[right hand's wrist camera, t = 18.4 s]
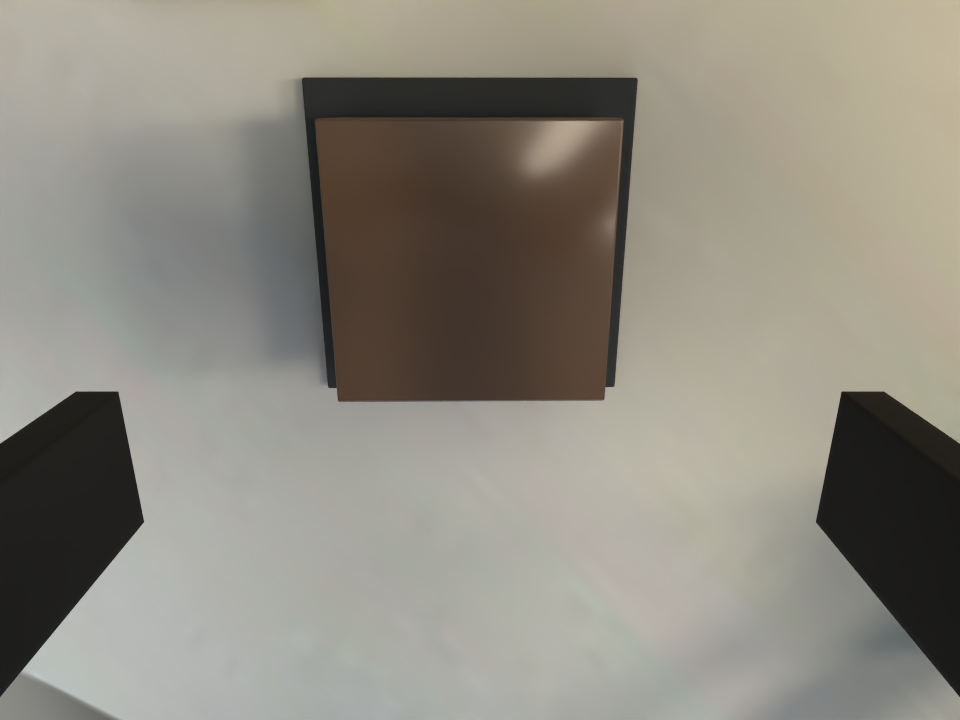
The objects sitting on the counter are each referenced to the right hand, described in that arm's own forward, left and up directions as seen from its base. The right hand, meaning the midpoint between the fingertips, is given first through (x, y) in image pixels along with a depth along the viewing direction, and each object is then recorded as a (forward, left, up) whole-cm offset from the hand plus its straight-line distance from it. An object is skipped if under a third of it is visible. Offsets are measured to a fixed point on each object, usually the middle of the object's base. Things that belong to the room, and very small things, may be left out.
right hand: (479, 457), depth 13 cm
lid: (0, 0, -19) cm, 19 cm away
